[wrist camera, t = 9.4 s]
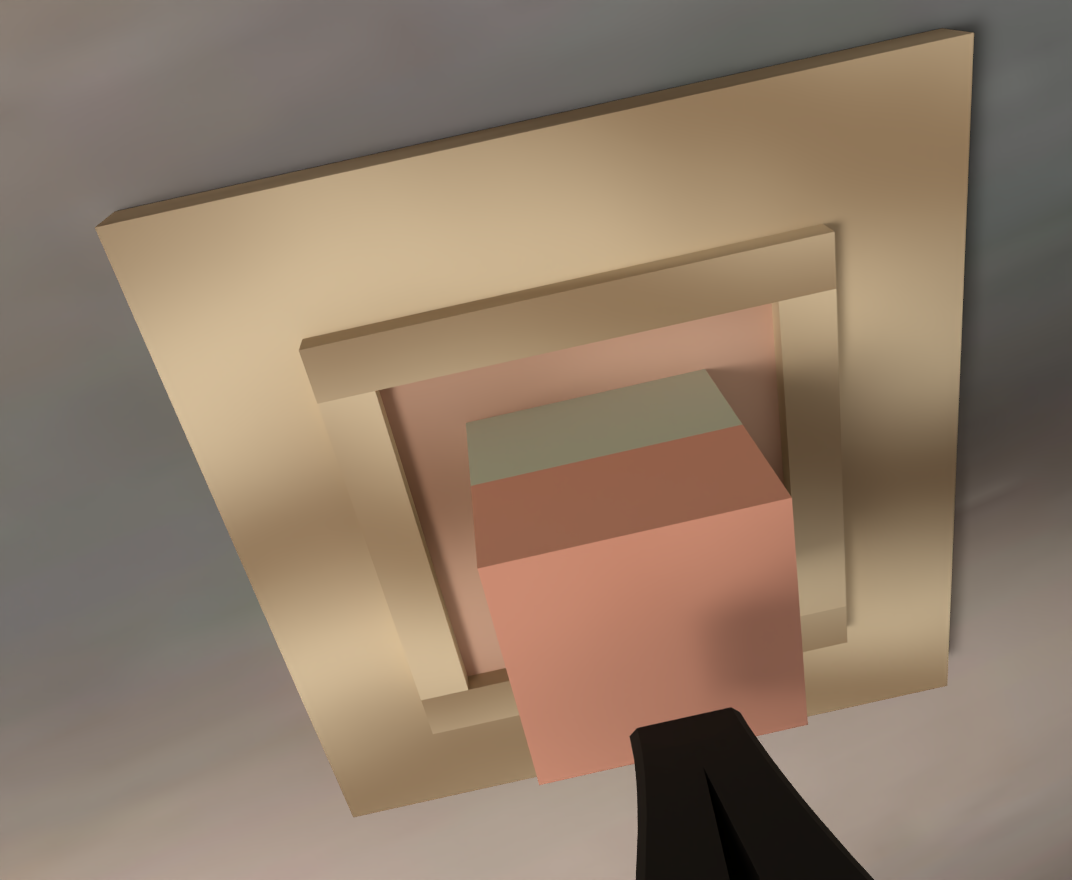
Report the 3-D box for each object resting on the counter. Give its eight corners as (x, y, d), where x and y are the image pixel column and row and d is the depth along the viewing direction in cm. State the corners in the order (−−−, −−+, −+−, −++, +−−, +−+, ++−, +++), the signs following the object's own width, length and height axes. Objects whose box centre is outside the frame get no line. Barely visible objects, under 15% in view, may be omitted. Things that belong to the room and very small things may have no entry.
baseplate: (925, 656, 22) (958, 701, 20) (356, 782, 22) (351, 835, 20) (942, 28, 15) (991, 35, 14) (114, 211, 15) (83, 236, 14)
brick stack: (727, 562, 18) (808, 724, 14) (515, 610, 18) (539, 784, 14) (704, 368, 16) (791, 497, 12) (465, 422, 16) (477, 568, 12)
